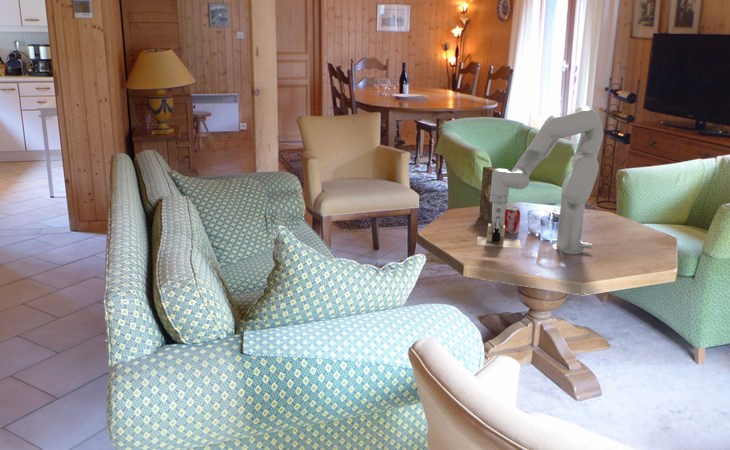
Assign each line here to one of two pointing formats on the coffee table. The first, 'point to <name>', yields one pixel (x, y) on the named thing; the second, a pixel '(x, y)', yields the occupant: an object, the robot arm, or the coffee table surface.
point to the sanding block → (490, 231)
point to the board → (507, 243)
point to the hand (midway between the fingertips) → (495, 239)
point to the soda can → (512, 220)
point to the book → (486, 194)
